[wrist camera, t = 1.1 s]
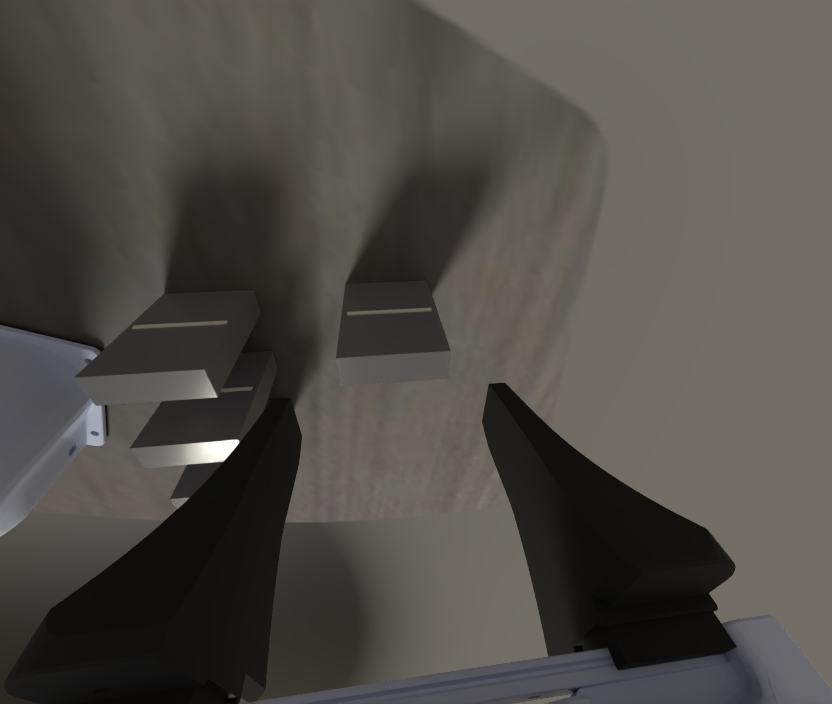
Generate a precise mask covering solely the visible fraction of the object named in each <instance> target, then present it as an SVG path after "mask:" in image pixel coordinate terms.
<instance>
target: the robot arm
mask: <svg viewBox="0 0 832 704" xmlns="http://www.w3.org/2000/svg"><path fill="white" fill-rule="evenodd" d="M100 353H101V352H100V351H99V350H98V349H97V348H95V347H92V346H87V345H83V344H79V343H75V342H71V341H66V340H62V339H58V338H54V337H49V336H45V335H41V334H37V333H33V332H28V331H24V330H20V329H16V328H11V327H7V326H3V325H0V536H1V535H3V534H5V533H7V532H8V531H9V530H11V529H12V528H14V527H15V526H16V525H17V524H19V523H20V522H21V521H22V520H23V519H24V518H25V517H26V516H27V515H28V514H29V513H30V512H31V510H32V509H33V508H34V507H35V505H36V504H37V503H38V502H39V501H40V499H41V498H42V497H43V496H44V495H45V493H46V492H47V491H48V490H49V489H50V487H51V486H52V485H53V484H54V483H55V481H56V480H57V479H58V478H59V477H60V475H61V474H62V473H63V472H64V471H65V469H66V468H67V467H68V466H69V464H70V463H71V462H72V461H73V460H74V458H75V457H76V456H77V455H78V454H79V452H80V451H81V450H82V449H83V448H84V446H85V445H86V444H88V445H94V446H101V445H103V444H104V443H105V442H106V440H107V437H106V419H105V405H102V406H96V405H95V404H94V403H93V402H92V400H91V399H90V398H89V397H88V395H87V394H86V393H85V392H84V390H83V389H82V388H81V386H80V385H79V384H78V383H77V381H76V380H75V379H74V377H75V376H76V375H77V374H78V373H79V372H80V371H81V370H83V369H84V368H85V367H86V366H87V365H88V364H89V363H90V362H91V360H93V359H94V358H95V357H97V356H98V355H99V354H100ZM90 359H91V360H90ZM482 423H483V427H484V431H485V435H486V439H487V443H488V447H489V449H490V452H491V455H492V457H493V460H494V463H495V465H496V468H497V470H498V473H499V475H500V478H501V481H502V483H503V486H504V488H505V491H506V493H507V496H508V498H509V501H510V504H511V507H512V510H513V513H514V516H515V520H516V523H517V527H518V530H519V534H520V537H521V541H522V544H523V549H524V552H525V556H526V560H527V564H528V567H529V571H530V576H531V580H532V584H533V588H534V592H535V597H536V601H537V605H538V610H539V614H540V619H541V624H542V628H543V633H544V638H545V643H546V648H547V653H548V655H549V657H543V658H537V659H530V660H524V661H517V662H511V663H504V664H497V665H491V666H484V667H478V668H472V669H465V670H458V671H451V672H445V673H439V674H432V675H426V676H419V677H412V678H406V679H400V680H392V681H386V682H379V683H373V684H367V685H360V686H353V687H347V688H341V689H333V690H327V691H320V692H314V693H307V694H301V695H295V696H288V697H282V698H275V699H269V700H261V701H257V700H258V699H259V698H260V696H261V695H262V694H263V692H264V691H265V688H266V674H267V662H268V650H269V638H270V629H271V619H272V609H273V600H274V591H275V584H276V576H277V568H278V560H279V552H280V546H281V539H282V534H283V529H284V524H285V520H286V516H287V511H288V507H289V503H290V499H291V495H292V491H293V487H294V482H295V478H296V474H297V470H298V465H299V459H300V450H301V440H302V435H301V431H300V428H299V425H298V421H297V418H296V414H295V411H294V408H293V404H292V401H291V398H284V399H273V400H272V401H271V402H270V403H269V404H268V406H267V407H266V408H265V410H264V411H263V412H262V414H261V415H260V417H259V418H258V419H257V421H256V422H255V423H254V425H253V426H252V427H251V428H250V430H249V431H248V432H247V434H246V435H245V436H244V437H243V439H242V440H241V441H240V442H239V444H238V445H237V446H236V447H235V449H234V450H233V451H232V452H231V453H230V455H229V456H228V457H227V458H226V459H225V460H224V462H223V463H222V464H221V465H220V466H219V467H218V468H217V470H216V471H215V472H214V473H213V474H212V475H211V476H210V477H209V478H208V479H207V480H206V482H205V483H204V484H203V485H202V486H201V487H200V488H199V489H198V490H197V491H196V492H195V493H194V494H193V495H192V496H191V497H190V498H189V499H188V500H187V501H186V502H185V503H184V504H183V505H181V506H180V507H179V508H178V509H177V510H176V511H175V512H174V513H173V514H172V515H171V516H170V517H168V518H167V519H166V520H165V521H164V522H163V523H162V524H161V525H160V526H158V527H157V528H156V529H155V530H154V531H153V532H152V533H150V534H149V535H148V536H147V537H146V538H144V539H143V540H142V541H141V542H139V543H138V544H137V545H136V546H135V547H133V548H132V549H131V550H130V551H128V552H127V553H126V554H125V555H123V556H122V557H121V558H120V559H119V560H117V561H116V562H114V563H113V564H112V565H111V566H109V567H108V568H107V569H105V570H104V571H103V572H101V573H100V574H99V575H97V576H96V577H95V578H93V579H92V580H90V581H89V582H88V583H86V584H85V585H84V586H82V587H81V588H79V589H78V590H77V591H75V592H74V593H72V594H71V595H70V596H68V597H67V598H66V599H64V600H63V601H61V602H60V603H58V604H57V605H56V606H54V607H53V608H51V609H50V611H49V612H48V614H47V615H46V617H45V618H44V620H43V621H42V623H41V624H40V626H39V627H38V629H37V630H36V632H35V633H34V635H33V637H32V638H31V640H30V641H29V643H28V645H27V646H26V648H25V649H24V651H23V653H22V654H21V656H20V658H19V659H18V661H17V662H16V664H15V665H14V667H13V669H12V670H11V672H10V673H9V675H8V677H7V678H6V680H5V682H4V685H3V686H4V689H5V690H6V692H7V693H8V694H10V695H12V696H15V697H18V698H21V699H25V700H29V701H32V702H36V703H39V704H512V703H518V702H525V701H531V700H537V699H543V698H549V697H555V696H561V695H567V694H571V696H570V697H569V698H565V699H561V700H557V701H554V702H549V703H546V704H832V688H831V687H830V686H829V685H828V683H827V682H826V681H825V680H824V678H823V677H822V676H821V675H820V673H819V672H818V671H817V670H816V668H815V667H814V666H813V664H812V663H811V662H810V661H809V660H808V658H807V657H806V656H805V654H804V653H803V652H802V651H801V649H800V648H799V647H798V646H797V644H796V643H795V642H794V640H793V639H792V638H791V637H790V635H789V634H788V633H787V632H786V630H785V629H784V628H783V627H782V625H781V624H780V623H779V621H778V620H777V619H776V618H775V617H774V616H772V615H763V616H757V617H750V618H743V619H737V620H732V621H728V622H725V623H723V624H721V623H720V621H719V620H718V618H717V617H716V615H715V614H714V612H713V611H716V610H718V607H717V605H716V603H715V602H714V600H713V599H712V597H711V596H710V594H709V592H711V591H712V590H714V589H715V588H716V587H718V586H719V585H720V584H722V583H723V582H725V581H726V580H727V579H728V578H729V577H731V576H732V575H733V573H734V571H735V564H734V562H733V561H732V560H731V558H730V557H729V556H728V555H727V553H726V552H725V551H724V550H723V548H722V547H721V546H720V545H719V543H718V542H717V541H716V540H715V538H714V537H713V536H712V535H711V534H710V533H709V531H708V530H707V529H706V528H704V527H702V526H700V525H698V524H696V523H694V522H692V521H690V520H688V519H686V518H684V517H682V516H680V515H678V514H676V513H674V512H672V511H670V510H669V509H667V508H665V507H663V506H661V505H659V504H658V503H656V502H654V501H652V500H651V499H649V498H647V497H645V496H643V495H642V494H640V493H639V492H637V491H635V490H634V489H632V488H630V487H629V486H627V485H626V484H624V483H623V482H621V481H619V480H618V479H616V478H615V477H613V476H612V475H610V474H609V473H607V472H606V471H604V470H603V469H601V468H600V467H599V466H597V465H596V464H594V463H593V462H592V461H590V460H589V459H588V458H586V457H585V456H584V455H582V454H581V453H580V452H578V451H577V450H576V449H575V448H573V447H572V446H571V445H570V444H568V443H567V442H566V441H565V440H564V439H562V438H561V437H560V436H559V435H558V434H557V433H556V432H554V431H553V430H552V429H551V428H550V427H549V426H548V425H547V424H546V423H545V422H544V421H543V420H542V419H541V418H539V417H538V416H537V415H536V414H535V413H534V412H533V411H532V410H531V409H530V408H529V407H528V406H527V405H526V404H525V403H524V402H523V401H522V400H521V399H520V398H519V397H518V396H517V395H516V394H515V392H514V391H513V390H512V389H511V388H510V387H509V386H508V385H507V384H506V383H494V384H489V386H488V392H487V397H486V403H485V408H484V414H483V419H482Z"/></svg>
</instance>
